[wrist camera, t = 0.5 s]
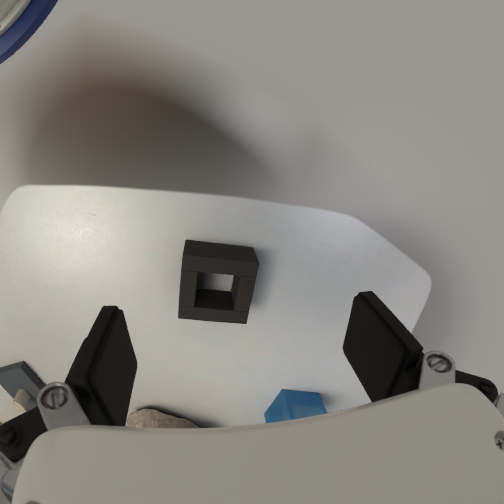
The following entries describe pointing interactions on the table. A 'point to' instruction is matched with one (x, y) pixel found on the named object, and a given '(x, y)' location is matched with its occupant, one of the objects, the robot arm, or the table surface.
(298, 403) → the perfume bottle
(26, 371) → the base pad
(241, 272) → the black square hollow block
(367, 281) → the table surface
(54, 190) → the table surface
